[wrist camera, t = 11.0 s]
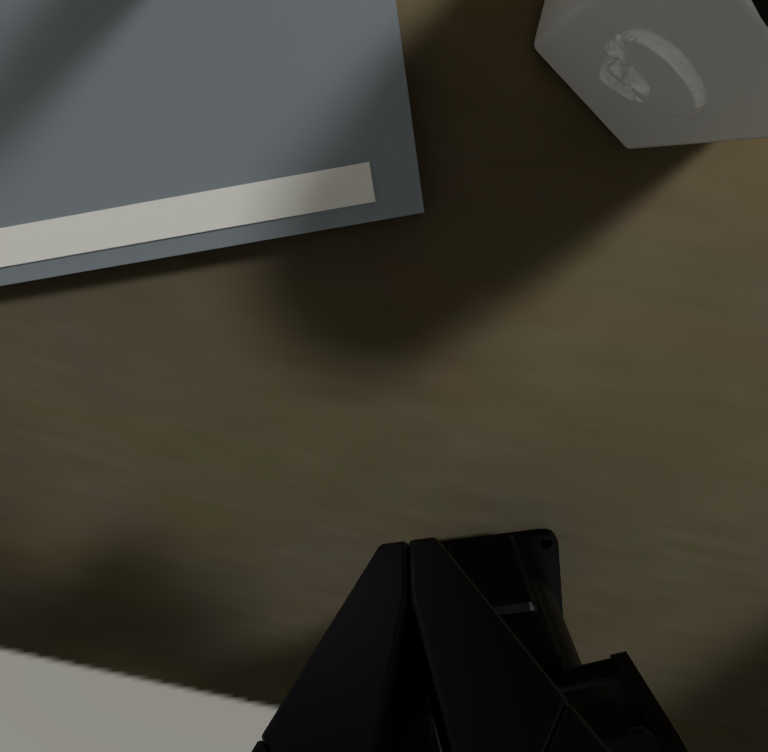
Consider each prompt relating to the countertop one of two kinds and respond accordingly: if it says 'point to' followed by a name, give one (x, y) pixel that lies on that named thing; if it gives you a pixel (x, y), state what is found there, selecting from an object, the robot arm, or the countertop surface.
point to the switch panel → (195, 127)
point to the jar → (663, 66)
